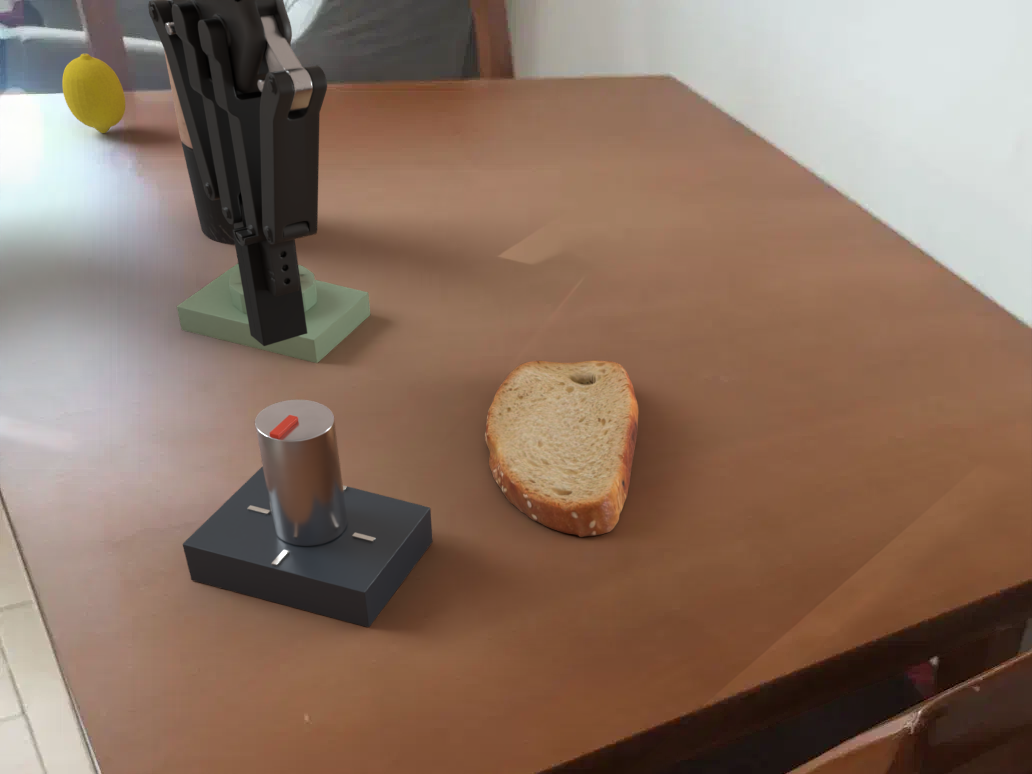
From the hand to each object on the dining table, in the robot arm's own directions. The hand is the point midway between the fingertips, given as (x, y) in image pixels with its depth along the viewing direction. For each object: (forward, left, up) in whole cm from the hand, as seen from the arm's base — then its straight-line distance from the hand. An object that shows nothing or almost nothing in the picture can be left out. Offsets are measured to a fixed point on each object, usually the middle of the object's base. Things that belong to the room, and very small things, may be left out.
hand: (279, 333), depth 65 cm
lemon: (-52, +51, -16) cm, 75 cm away
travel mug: (-28, +38, -15) cm, 50 cm away
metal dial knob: (+2, -2, -12) cm, 13 cm away
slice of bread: (+13, +17, -15) cm, 26 cm away
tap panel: (+2, -2, -15) cm, 16 cm away
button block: (-16, +24, -15) cm, 33 cm away
